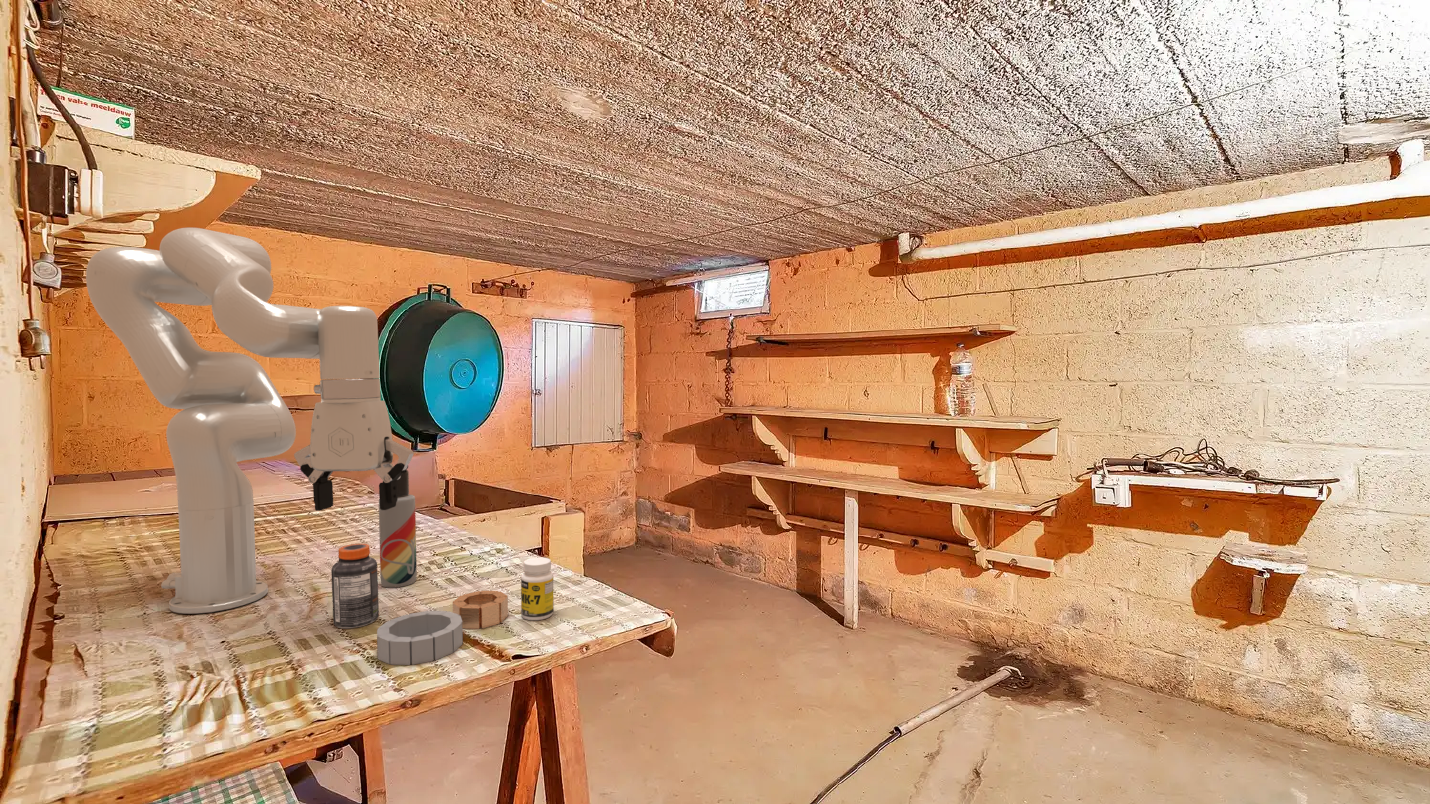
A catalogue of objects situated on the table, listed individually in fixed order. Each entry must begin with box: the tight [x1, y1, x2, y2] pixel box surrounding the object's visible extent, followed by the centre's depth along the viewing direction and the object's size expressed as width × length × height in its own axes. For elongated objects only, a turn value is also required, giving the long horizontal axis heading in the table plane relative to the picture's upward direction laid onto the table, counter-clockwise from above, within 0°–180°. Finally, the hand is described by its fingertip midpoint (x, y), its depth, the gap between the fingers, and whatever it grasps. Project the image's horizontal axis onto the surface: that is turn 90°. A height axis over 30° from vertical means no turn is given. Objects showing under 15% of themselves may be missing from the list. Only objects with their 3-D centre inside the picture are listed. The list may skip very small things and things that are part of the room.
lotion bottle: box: [378, 469, 418, 589], centre depth 111 cm, size 6×6×20 cm
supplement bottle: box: [520, 556, 555, 621], centre depth 97 cm, size 5×5×8 cm
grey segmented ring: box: [376, 610, 464, 666], centre depth 86 cm, size 10×10×3 cm
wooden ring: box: [452, 590, 509, 630], centre depth 96 cm, size 7×7×3 cm
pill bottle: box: [330, 543, 380, 629], centre depth 95 cm, size 6×6×11 cm
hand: (356, 508), depth 94 cm, fingers open, 9 cm apart
